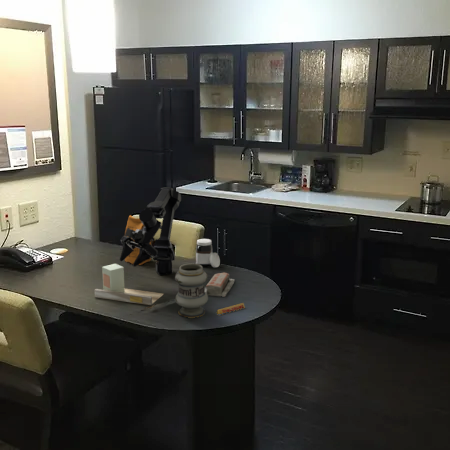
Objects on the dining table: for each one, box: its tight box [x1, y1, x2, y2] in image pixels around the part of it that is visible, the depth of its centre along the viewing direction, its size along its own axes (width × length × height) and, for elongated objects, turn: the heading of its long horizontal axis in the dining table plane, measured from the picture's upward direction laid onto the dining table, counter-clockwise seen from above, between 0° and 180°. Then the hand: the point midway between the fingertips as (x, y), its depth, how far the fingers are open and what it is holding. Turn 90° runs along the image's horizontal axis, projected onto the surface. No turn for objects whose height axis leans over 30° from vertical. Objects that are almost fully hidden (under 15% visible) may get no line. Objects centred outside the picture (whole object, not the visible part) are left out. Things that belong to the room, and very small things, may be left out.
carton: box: [101, 263, 125, 293], centre depth 208 cm, size 6×6×11 cm
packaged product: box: [204, 272, 235, 298], centre depth 220 cm, size 18×5×10 cm
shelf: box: [94, 287, 164, 309], centre depth 207 cm, size 12×24×4 cm, turn 72°
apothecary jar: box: [174, 262, 209, 319], centre depth 194 cm, size 12×12×18 cm
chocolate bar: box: [215, 302, 246, 315], centre depth 198 cm, size 3×12×2 cm, turn 125°
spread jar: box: [195, 238, 221, 269], centre depth 247 cm, size 12×11×12 cm
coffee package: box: [124, 214, 152, 266], centre depth 250 cm, size 10×12×22 cm
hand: (126, 263), depth 211 cm, fingers open, 9 cm apart
